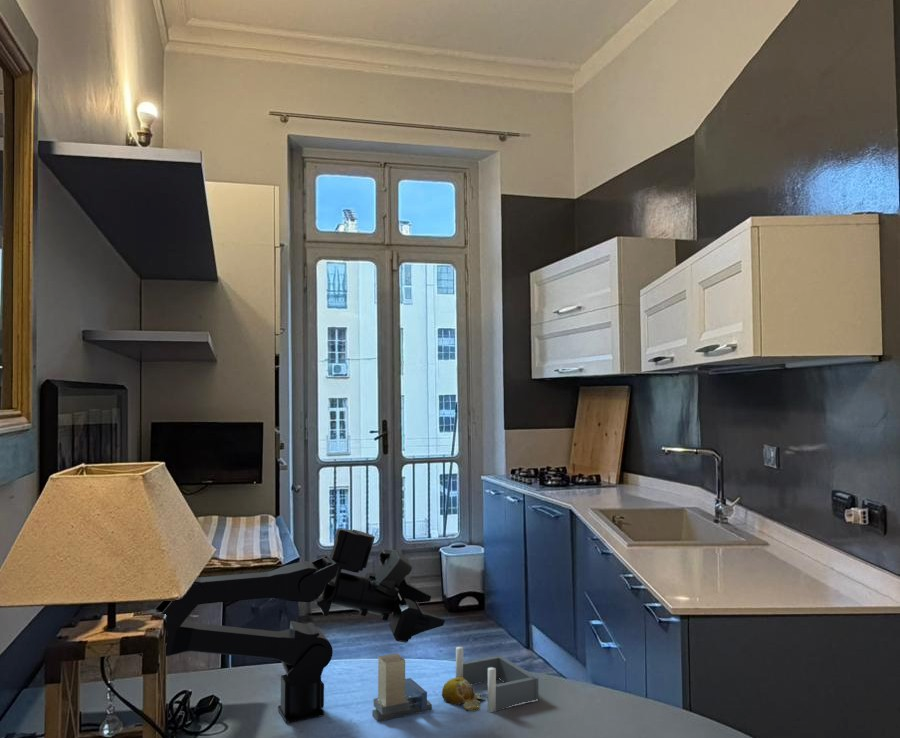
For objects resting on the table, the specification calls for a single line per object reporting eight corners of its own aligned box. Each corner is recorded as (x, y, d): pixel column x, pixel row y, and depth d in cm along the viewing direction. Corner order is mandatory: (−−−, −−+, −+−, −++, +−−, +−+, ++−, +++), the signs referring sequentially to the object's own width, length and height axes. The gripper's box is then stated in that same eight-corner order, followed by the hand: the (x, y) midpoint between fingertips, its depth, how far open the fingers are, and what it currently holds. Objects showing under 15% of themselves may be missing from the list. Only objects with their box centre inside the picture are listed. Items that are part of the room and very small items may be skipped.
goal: (490, 712, 120) (490, 670, 120) (454, 685, 132) (454, 647, 132) (539, 701, 125) (538, 661, 125) (500, 676, 136) (500, 639, 137)
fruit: (476, 715, 120) (477, 693, 120) (433, 706, 123) (433, 685, 124) (494, 697, 127) (494, 676, 128) (452, 689, 131) (452, 669, 131)
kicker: (385, 718, 115) (385, 667, 115) (370, 702, 121) (370, 654, 122) (427, 709, 118) (427, 660, 119) (410, 694, 124) (410, 647, 125)
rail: (377, 721, 117) (377, 715, 117) (372, 716, 119) (372, 710, 119) (431, 710, 121) (431, 704, 121) (426, 704, 123) (426, 699, 123)
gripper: (384, 573, 115) (468, 593, 121) (364, 531, 133) (438, 549, 138) (361, 635, 116) (445, 652, 121) (344, 585, 134) (418, 601, 139)
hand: (436, 610), depth 130 cm, fingers open, 9 cm apart
